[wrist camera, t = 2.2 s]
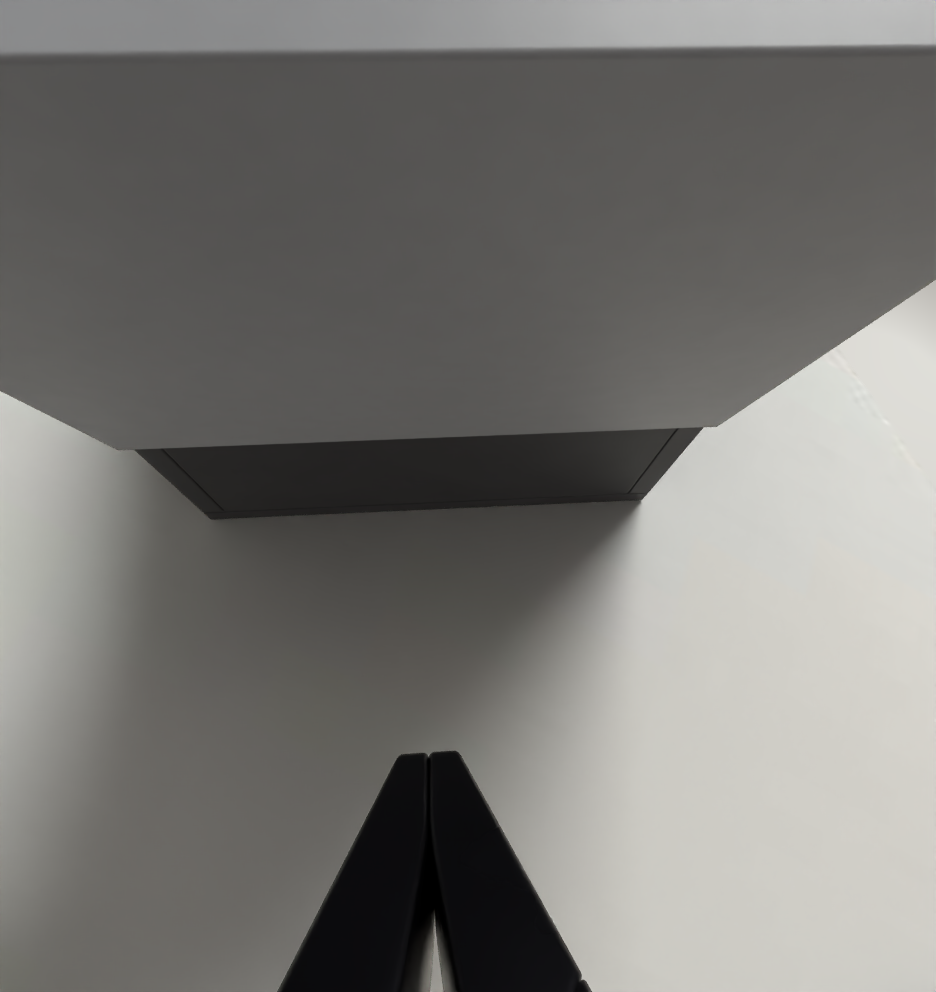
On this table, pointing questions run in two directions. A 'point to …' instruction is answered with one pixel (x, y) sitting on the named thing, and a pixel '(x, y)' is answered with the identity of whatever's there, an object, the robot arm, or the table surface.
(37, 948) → the table surface
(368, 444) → the open storage box
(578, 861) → the table surface
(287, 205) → the lid
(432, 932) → the robot arm
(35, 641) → the table surface
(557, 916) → the table surface
